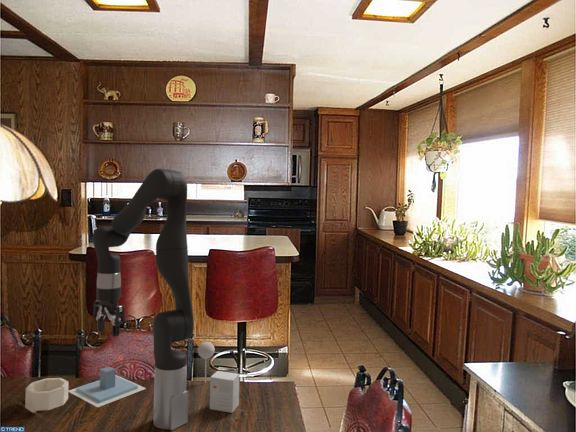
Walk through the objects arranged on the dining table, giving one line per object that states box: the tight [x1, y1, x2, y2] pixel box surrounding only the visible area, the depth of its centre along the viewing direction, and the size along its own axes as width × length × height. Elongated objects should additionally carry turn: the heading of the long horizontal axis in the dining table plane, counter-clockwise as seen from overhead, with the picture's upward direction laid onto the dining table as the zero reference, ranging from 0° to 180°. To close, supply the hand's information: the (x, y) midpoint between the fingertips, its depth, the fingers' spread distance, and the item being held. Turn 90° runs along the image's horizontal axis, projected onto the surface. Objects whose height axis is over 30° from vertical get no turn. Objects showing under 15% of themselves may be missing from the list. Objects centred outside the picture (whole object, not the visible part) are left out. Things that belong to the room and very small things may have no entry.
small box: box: [209, 370, 240, 414], centre depth 143 cm, size 8×6×10 cm
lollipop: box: [197, 341, 216, 384], centre depth 161 cm, size 6×6×15 cm
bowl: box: [24, 377, 69, 414], centre depth 141 cm, size 11×11×6 cm
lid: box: [75, 366, 138, 403], centre depth 151 cm, size 14×14×7 cm
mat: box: [68, 374, 147, 408], centre depth 151 cm, size 18×18×1 cm
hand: (108, 333), depth 150 cm, fingers open, 8 cm apart
